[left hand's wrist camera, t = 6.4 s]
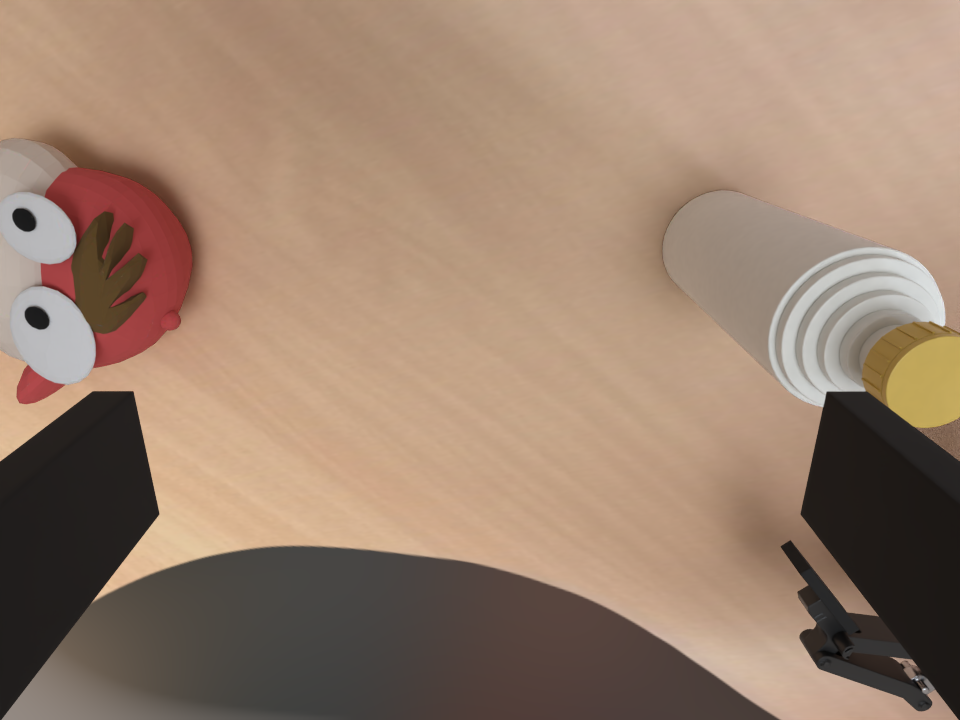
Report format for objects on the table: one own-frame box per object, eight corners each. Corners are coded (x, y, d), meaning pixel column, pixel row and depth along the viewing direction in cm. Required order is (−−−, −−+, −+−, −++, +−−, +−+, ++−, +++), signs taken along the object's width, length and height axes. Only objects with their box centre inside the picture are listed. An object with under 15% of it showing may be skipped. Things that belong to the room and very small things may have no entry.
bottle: (693, 316, 49) (872, 501, 27) (642, 231, 47) (792, 354, 24) (788, 259, 48) (1065, 403, 25) (741, 167, 45) (998, 236, 23)
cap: (881, 426, 27) (907, 446, 25) (844, 354, 26) (868, 371, 24) (973, 377, 26) (1004, 395, 25) (939, 301, 25) (970, 315, 23)
